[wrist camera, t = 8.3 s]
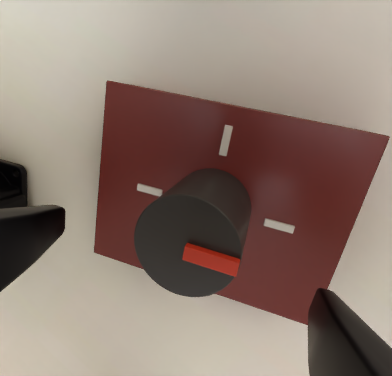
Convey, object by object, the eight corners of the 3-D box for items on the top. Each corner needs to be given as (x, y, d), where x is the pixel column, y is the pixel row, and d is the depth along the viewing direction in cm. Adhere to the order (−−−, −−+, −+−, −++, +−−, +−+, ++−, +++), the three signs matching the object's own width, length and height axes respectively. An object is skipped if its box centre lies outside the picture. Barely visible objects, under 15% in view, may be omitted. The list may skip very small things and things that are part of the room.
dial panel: (115, 235, 19) (91, 253, 17) (130, 84, 16) (104, 79, 13) (306, 296, 17) (312, 329, 14) (370, 132, 13) (392, 136, 11)
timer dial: (168, 230, 15) (124, 282, 10) (180, 159, 14) (136, 183, 9) (240, 252, 14) (225, 318, 10) (260, 179, 13) (254, 216, 8)
